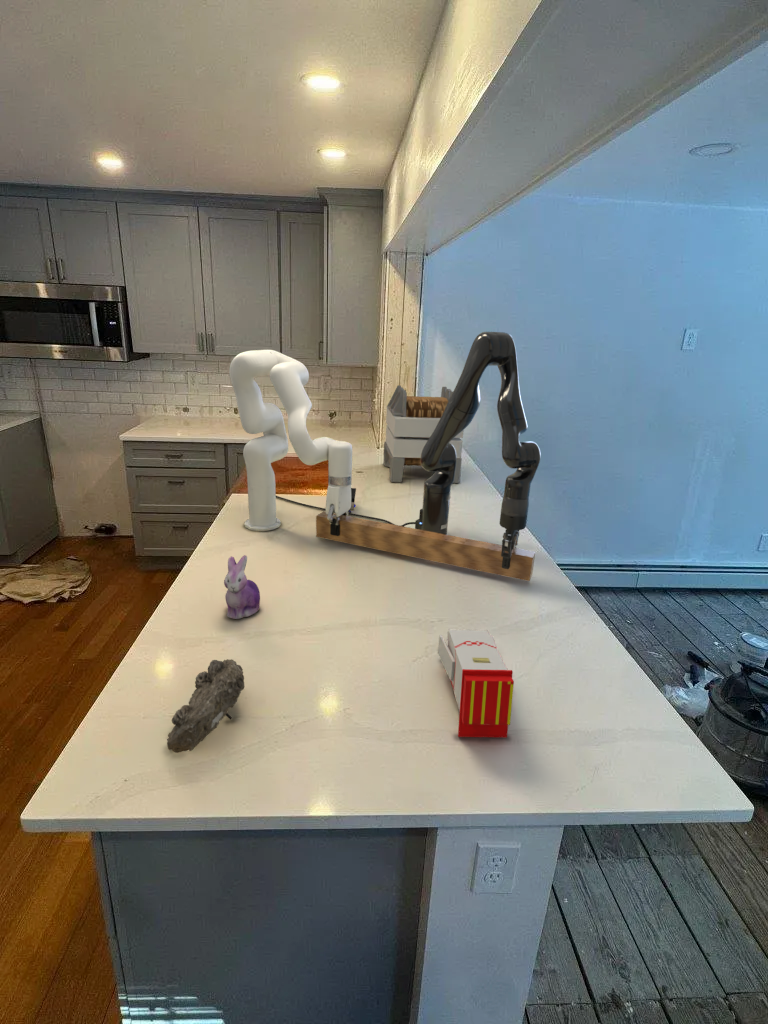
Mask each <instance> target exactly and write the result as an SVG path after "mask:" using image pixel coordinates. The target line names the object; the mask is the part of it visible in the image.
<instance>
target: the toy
mask: <svg viewBox="0 0 768 1024" xmlns="http://www.w3.org/2000/svg"><path fill="white" fill-rule="evenodd" d="M446 640H447V643H446V641H445V639H444V636H443V635H442V634H439V637H438V646H437V656H438V657H439V659H440V661H441V663H442V666H443V668H444V670H445V672H446V674H447V677H448V679H449V681H450V684H451V687H452V690H453V693H454V697H455V701H456V705H457V708H458V711H459V714H458V715H459V716H458V730H457V731H458V732H457V737H458V738H508V731H509V726H510V725H511V717H512V707H513V697H514V696H513V695H514V684H515V680H514V679H513V673H514V671H513V670H512V669H508V667H507V665H506V662H505V661H504V659H503V658H502V655H501V653H500V651H499V649H498V647H497V643H496V639H495V637H494V635H493V634H491V632H490V631H489V629H467V628H466V629H465V628H463V629H461V628H460V629H459V628H448V630H447V639H446Z"/></svg>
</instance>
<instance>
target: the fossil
mask: <svg viewBox="0 0 768 1024" xmlns="http://www.w3.org/2000/svg"><path fill="white" fill-rule="evenodd" d="M243 670H244V669H243V667H242V665H240V664H237V662H236V661H235V660H234V659H232V658H231V659H227V658H226V659H224V660H223V661H222V660H217V659H212V660H211V661H210V663H209V665H208V666H207V671H201V672H199V673H198V674H197V675H196V676H195V680H194V684H195V685H194V687H195V689H194V690H193V693H192V694H191V697H190V698H189V700H188V704H184V705H182V706H181V707H180V709H177V710H176V711H175V713H174V715H173V716H172V718H171V723H172V724H173V727H172V730H171V731H170V732H168V734H167V738H166V741H167V742H166V745H167V749H168V750H169V751H173V752H174V753H176V754H178V753H182V752H188V751H189V752H192V751H193V750H195V748H196V747H197V746H199V744H200V743H201V742H203V741H204V740H205V739H206V738H207V737H208V736H209V735H210V734H211V733H212V732H214V730H215V729H217V727H218V726H219V724H220V722H221V721H222V720H223V719H224V718H225V716H226V717H227V719H229V720H233V717H232V715H230V714H229V710H230V709H231V708H234V706H235V704H236V703H237V702H238V699H239V697H240V695H241V693H242V691H243V690H245V689H244V688H245V675H244V671H243Z"/></svg>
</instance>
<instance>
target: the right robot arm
mask: <svg viewBox="0 0 768 1024" xmlns="http://www.w3.org/2000/svg"><path fill="white" fill-rule="evenodd" d="M517 357H518V356H517V349H516V344H515V340H514V338H513V336H512V335H511V334H509V333H508V332H503V331H482V332H480V333H479V334H477V335H476V337H475V338H474V340H473V342H472V344H471V346H470V349H469V352H468V355H467V358H466V360H465V363H464V366H463V369H462V371H461V374H460V376H459V378H458V380H457V383H456V385H455V387H454V389H453V390H452V392H453V393H452V395H451V397H450V399H449V401H448V403H447V405H446V408H445V410H444V412H443V414H442V416H441V418H440V420H439V422H438V424H437V426H436V428H435V430H434V431H433V433H432V435H431V436H430V438H429V439H428V441H427V443H426V444H425V446H424V448H423V450H422V453H421V458H420V461H421V465H422V466H421V467H422V469H423V470H424V471H426V472H430V473H431V472H432V473H433V472H434V473H433V474H432V475H431V476H429V477H427V478H426V479H425V480H424V482H423V493H422V496H423V497H422V506H421V508H420V509H419V516H418V519H416V520H415V521H409V522H405V523H403V524H401V525H400V526H403V527H407V526H408V525H409V526H410V525H414V529H419V530H424V531H429V532H435V533H440V534H445V535H448V525H449V517H450V516H449V514H450V504H451V494H452V493H451V491H452V486H453V484H454V483H453V481H454V475H455V468H456V450H455V448H454V446H453V445H452V444H450V443H449V442H450V441H451V440H452V439H453V438H454V437H456V436H457V435H458V434H459V433H460V432H462V431H463V430H464V431H465V429H466V428H467V427H468V426H469V425H470V424H471V423H472V421H473V420H474V417H475V415H476V414H477V412H478V410H479V408H480V405H481V391H480V381H481V378H482V376H483V374H484V372H485V371H486V369H487V368H488V367H489V366H490V367H492V366H493V367H494V366H495V367H498V371H499V374H500V379H501V380H500V382H501V383H500V389H499V393H498V397H497V404H496V409H497V415H498V420H499V424H500V428H501V458H502V460H503V462H504V464H505V466H506V467H508V468H510V469H513V470H514V469H515V472H513V473H511V474H509V475H508V476H506V479H505V482H504V490H503V496H502V499H501V508H500V515H499V516H500V517H499V525H500V526H501V528H503V529H505V530H504V531H505V532H503V534H502V538H503V539H502V540H501V545H502V552H501V557H503V560H502V568H504V569H509V568H510V561H511V557H512V550H514V549H515V548H517V546H518V544H519V543H518V542H519V536H520V531H522V530H524V529H525V528H526V527H527V521H528V516H529V515H528V513H529V507H530V493H531V492H530V491H531V484H532V482H533V480H534V478H535V475H536V473H537V470H538V468H539V465H540V462H541V456H542V453H541V449H540V447H539V445H538V444H537V443H536V442H535V441H522V442H521V441H520V435H522V434H524V433H526V432H527V430H528V422H527V418H526V414H525V409H524V406H523V402H522V397H521V390H520V381H519V379H520V378H519V369H518V367H519V366H518V358H517ZM276 499H280V500H283V501H286V502H289V503H293V504H295V505H300V506H303V507H307V508H312V509H316V510H321V511H326V507H325V508H324V507H321V506H320V507H319V506H314V505H311V504H306V503H301V502H298V501H295V500H292V499H288V498H285V497H282V496H278V495H276ZM349 514H350V515H349ZM348 516H352V517H358V518H363V519H368V520H374V521H379V522H383V523H387V524H392V525H396V524H394V523H393V522H391V521H389V520H387V519H383V518H380V517H379V518H378V517H373V516H368V515H364V514H357V513H352V512H351V513H348ZM505 551H507V552H508V553H505Z"/></svg>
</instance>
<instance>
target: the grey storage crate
mask: <svg viewBox="0 0 768 1024" xmlns="http://www.w3.org/2000/svg"><path fill="white" fill-rule="evenodd" d="M440 393H441V394H440V396H415V395H414V396H413V395H412V396H411V395H407V394H408V393H407V390H406V389H404V388H403V387H402V385H399V384H398V385H397V386H396V388H395V390H394V392H393V394H392V395H391V398H390V400H389V402H388V404H387V405H386V413H385V414H386V415H385V423H386V428H385V438H384V442H383V466H384V467H388V468H389V475H388V476H389V477H388V478H389V480H390V482H391V483H402V482H403V475H404V469H405V466H406V467H407V466H411V467H412V466H413V467H415V466H416V467H417V466H418V467H422V465H421V461H420V458H421V453H422V450H423V448H424V446H425V444H426V443H427V441H428V439H429V438H430V436H431V435H432V433H433V431H434V430H435V428H436V426H437V424H438V422H439V420H440V418H441V416H442V414H443V412H444V410H445V408H446V405H447V403H448V401H449V399H450V397H451V395H452V393H453V390H452V389H451V388H447V386H442V387H441V392H440ZM464 431H465V429H464V430H463V431H462V432H460V433H459V434H458V435H457V436H456V437H454V438H453V439H452V440H451V441H450V442H449V443H450V444H452V445H453V446H454V448H455V450H456V468H455V475H454V481H453V484H455V483H456V484H459V483H461V472H462V461H463V460H462V453H463V442H464V441H463V440H462V439H463V438H464Z"/></svg>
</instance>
